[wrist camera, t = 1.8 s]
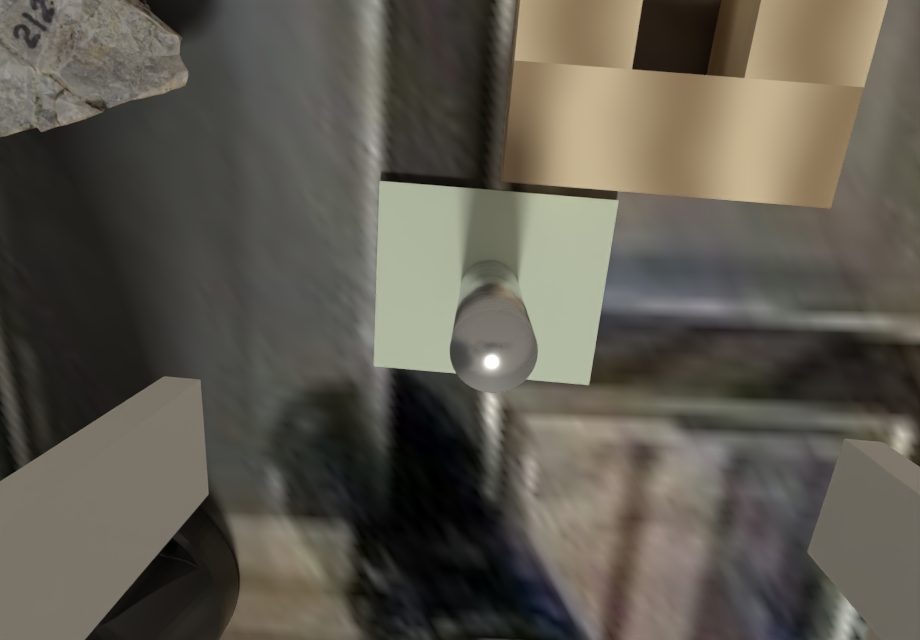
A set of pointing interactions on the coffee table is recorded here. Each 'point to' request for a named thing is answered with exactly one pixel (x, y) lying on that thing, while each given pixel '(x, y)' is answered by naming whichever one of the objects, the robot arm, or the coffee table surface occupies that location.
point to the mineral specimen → (81, 60)
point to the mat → (490, 238)
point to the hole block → (689, 101)
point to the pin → (492, 330)
